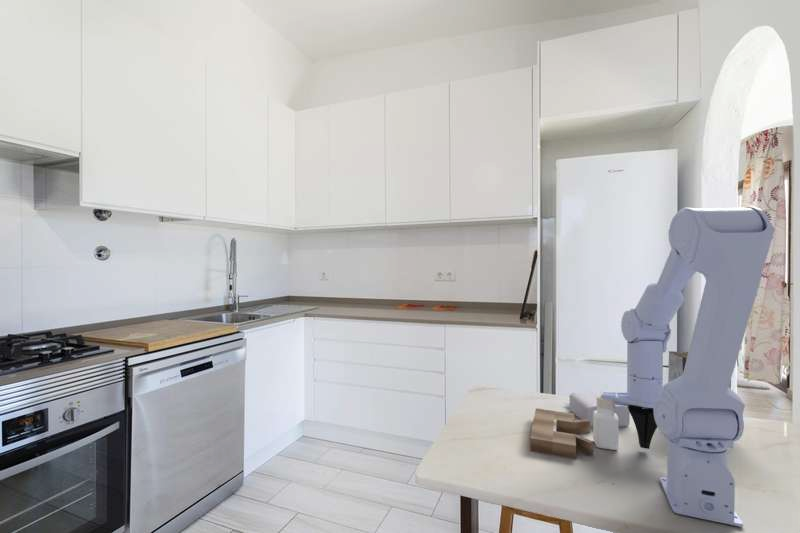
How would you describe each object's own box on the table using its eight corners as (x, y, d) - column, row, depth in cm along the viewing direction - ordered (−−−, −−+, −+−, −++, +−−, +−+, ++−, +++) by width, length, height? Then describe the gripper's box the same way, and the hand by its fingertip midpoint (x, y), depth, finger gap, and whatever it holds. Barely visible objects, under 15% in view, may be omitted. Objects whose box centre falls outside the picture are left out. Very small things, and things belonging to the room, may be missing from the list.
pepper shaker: (592, 439, 79) (592, 393, 79) (614, 442, 78) (615, 395, 77) (595, 448, 75) (596, 399, 75) (619, 451, 74) (619, 402, 74)
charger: (593, 402, 100) (629, 427, 85) (558, 402, 100) (588, 428, 85) (594, 384, 100) (629, 406, 85) (558, 384, 100) (588, 406, 85)
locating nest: (594, 462, 70) (594, 448, 70) (530, 450, 74) (530, 437, 74) (589, 427, 85) (589, 415, 85) (535, 419, 89) (535, 408, 89)
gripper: (684, 373, 74) (684, 443, 75) (599, 365, 80) (599, 430, 80) (696, 384, 68) (695, 461, 68) (603, 375, 74) (602, 446, 74)
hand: (644, 446), depth 74 cm, fingers closed
